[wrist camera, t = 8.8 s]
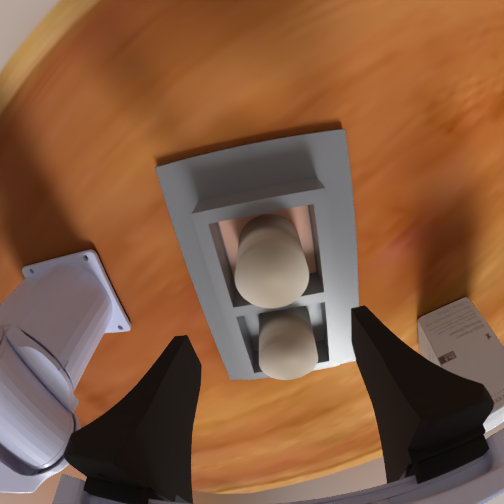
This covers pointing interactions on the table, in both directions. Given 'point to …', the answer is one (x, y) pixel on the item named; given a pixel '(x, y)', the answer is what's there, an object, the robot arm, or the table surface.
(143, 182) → the table surface
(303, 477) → the table surface
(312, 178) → the gray compartment tray
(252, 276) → the cream cylinder
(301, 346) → the beige round piece
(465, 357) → the skincare box
